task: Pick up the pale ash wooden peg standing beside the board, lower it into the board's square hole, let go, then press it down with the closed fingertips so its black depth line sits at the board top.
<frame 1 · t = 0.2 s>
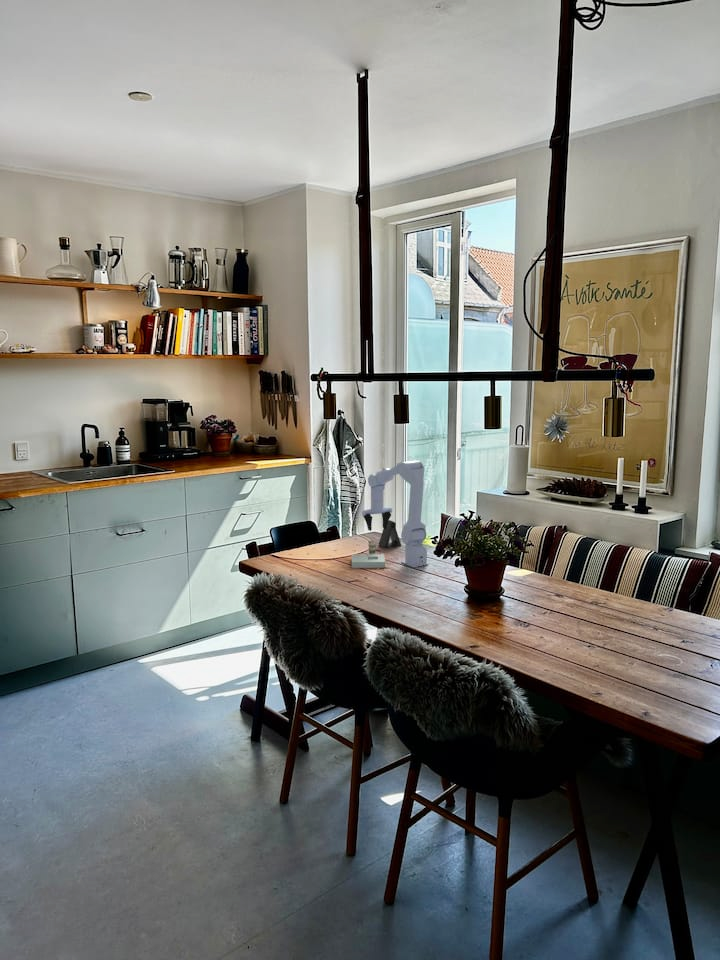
hand: (377, 529, 320), 10 cm above the table, tool pointing down, fingers open, 7 cm apart
phone stand: (389, 545, 330), on the table
peg: (372, 556, 311), on the table
hole board: (372, 563, 300), on the table
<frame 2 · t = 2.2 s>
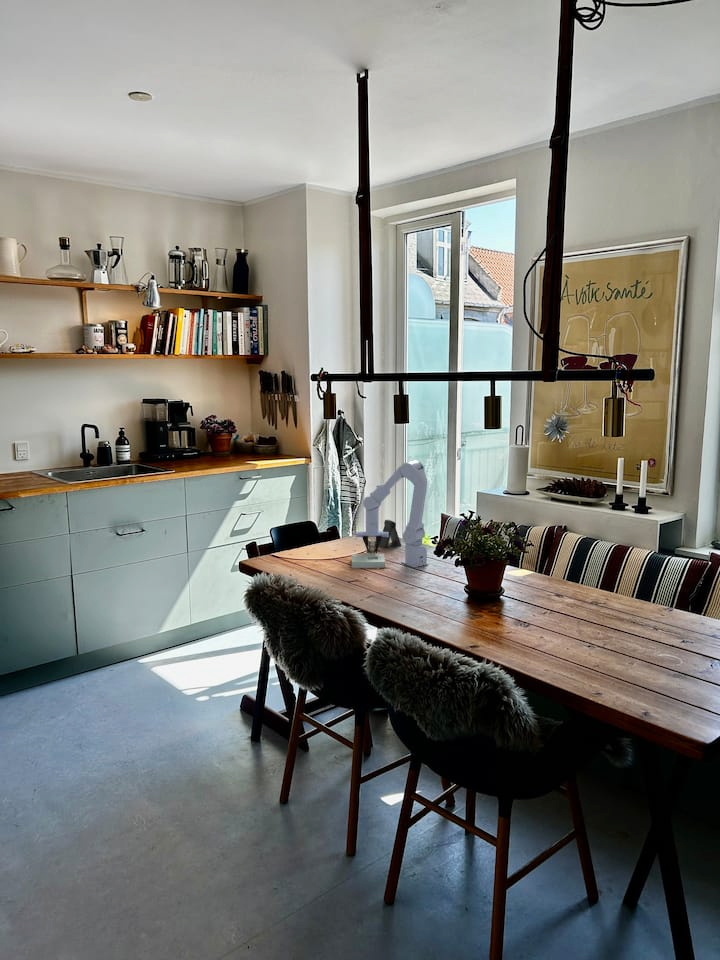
hand: (372, 552, 310), 2 cm above the table, tool pointing down, fingers closed on peg, 3 cm apart
peg: (372, 556, 311), on the table, touching gripper
everything else where it was.
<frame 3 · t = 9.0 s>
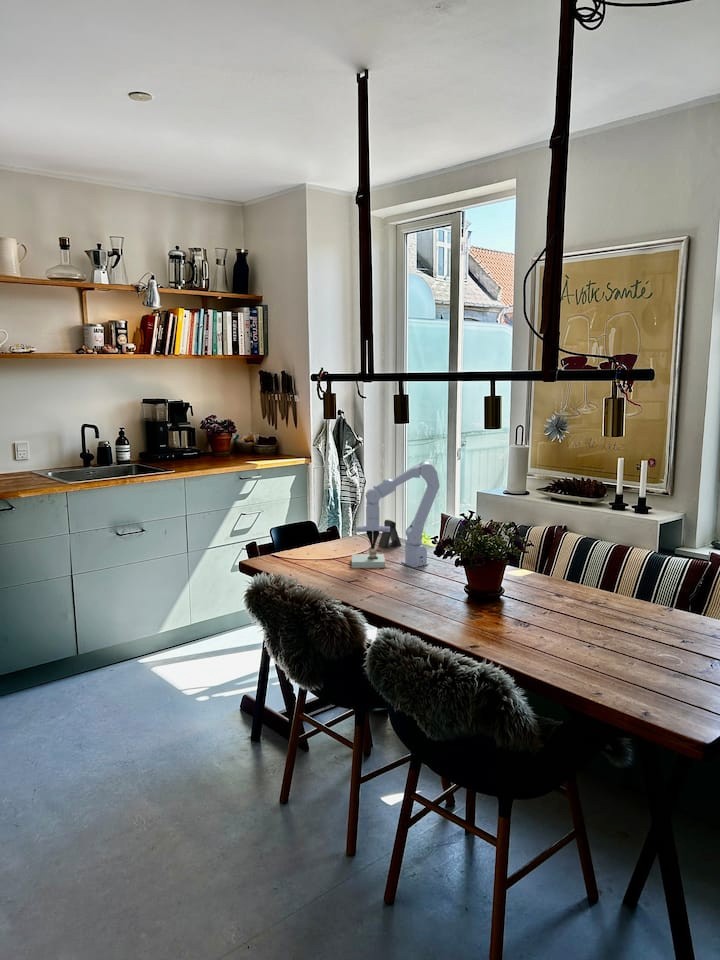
hand: (372, 548, 299), 7 cm above the table, tool pointing down, fingers closed, pressing on peg
peg: (372, 563, 300), resting in hole board, touching gripper
everything else where it was.
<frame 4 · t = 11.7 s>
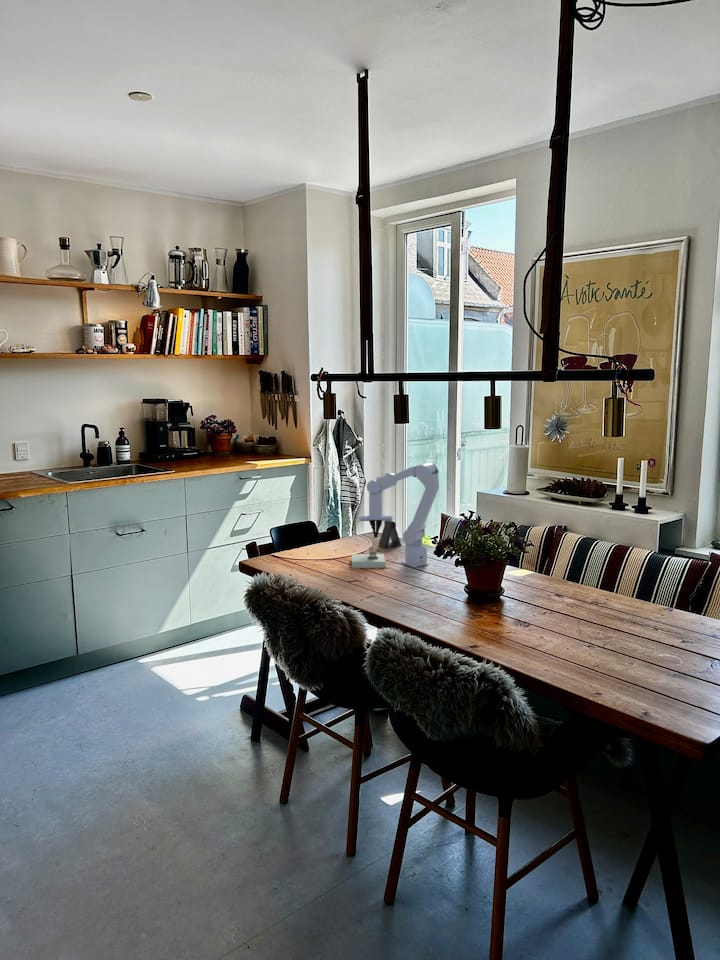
hand: (375, 537, 308), 9 cm above the table, tool pointing down, fingers closed
peg: (372, 563, 300), resting in hole board
everything else where it was.
at the end: peg 0.0 cm off-centre on the hole board, point 0.0 cm above the hole board's base; peg tilted 0°; the gripper is holding nothing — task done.
